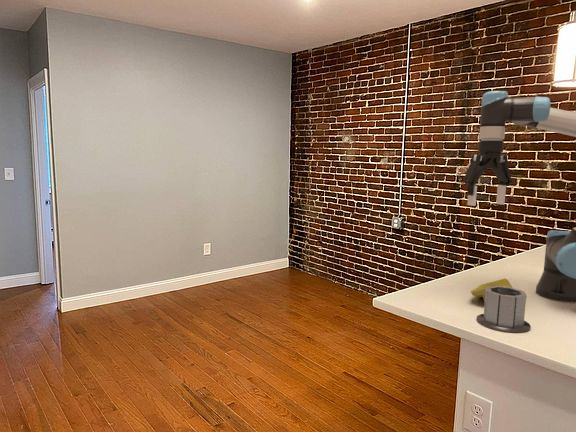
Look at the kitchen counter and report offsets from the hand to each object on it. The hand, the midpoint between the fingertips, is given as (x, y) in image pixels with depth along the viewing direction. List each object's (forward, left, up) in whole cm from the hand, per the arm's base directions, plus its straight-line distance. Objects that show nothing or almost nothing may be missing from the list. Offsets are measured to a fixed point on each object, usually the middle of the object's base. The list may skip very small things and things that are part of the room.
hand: (486, 205), depth 146 cm
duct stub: (+6, +24, -32) cm, 40 cm away
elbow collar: (+6, +24, -31) cm, 40 cm away
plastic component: (-2, +4, -32) cm, 33 cm away
